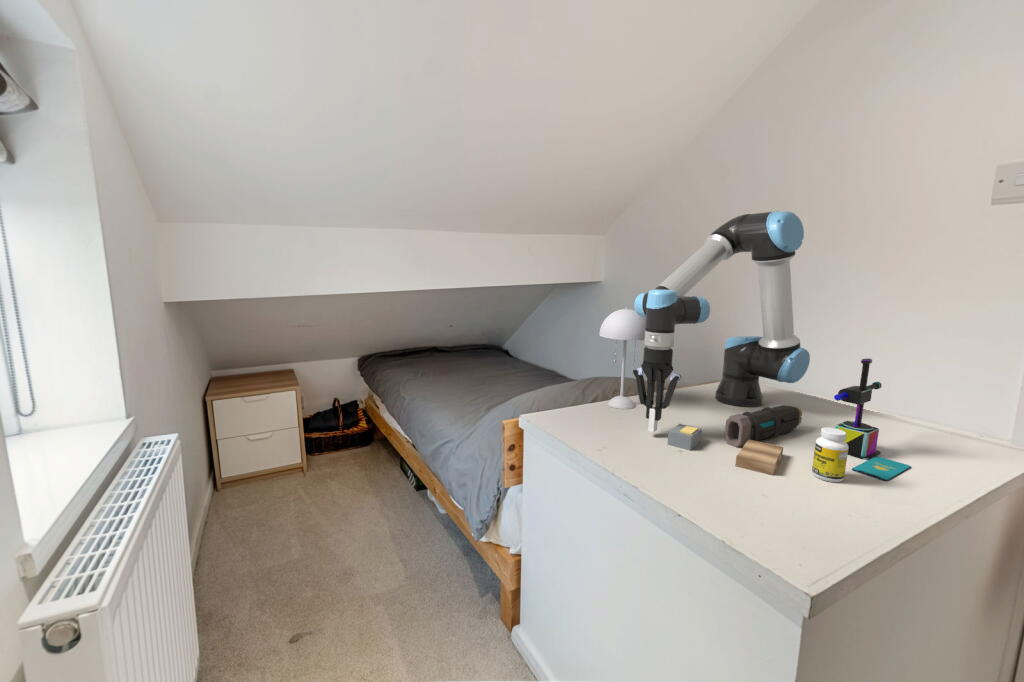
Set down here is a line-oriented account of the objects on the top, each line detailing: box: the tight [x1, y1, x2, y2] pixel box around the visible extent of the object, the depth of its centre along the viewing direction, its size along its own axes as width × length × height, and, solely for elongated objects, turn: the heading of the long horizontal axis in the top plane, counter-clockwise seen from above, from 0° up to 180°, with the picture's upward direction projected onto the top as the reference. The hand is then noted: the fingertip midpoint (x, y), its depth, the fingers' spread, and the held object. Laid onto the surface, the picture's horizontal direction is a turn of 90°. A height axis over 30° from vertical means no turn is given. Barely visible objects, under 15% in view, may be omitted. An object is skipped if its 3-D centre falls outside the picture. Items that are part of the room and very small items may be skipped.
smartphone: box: [851, 455, 912, 482], centre depth 114 cm, size 7×1×15 cm
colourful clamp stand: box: [833, 357, 882, 461], centre depth 125 cm, size 25×9×24 cm, turn 124°
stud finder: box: [667, 423, 703, 451], centre depth 127 cm, size 8×6×4 cm
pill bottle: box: [811, 427, 849, 483], centre depth 108 cm, size 6×6×11 cm
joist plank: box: [735, 439, 784, 476], centre depth 117 cm, size 14×8×2 cm, turn 143°
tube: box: [724, 404, 803, 448], centre depth 133 cm, size 11×7×30 cm
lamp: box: [598, 307, 646, 410], centre depth 159 cm, size 17×17×33 cm
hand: (652, 430), depth 132 cm, fingers closed
